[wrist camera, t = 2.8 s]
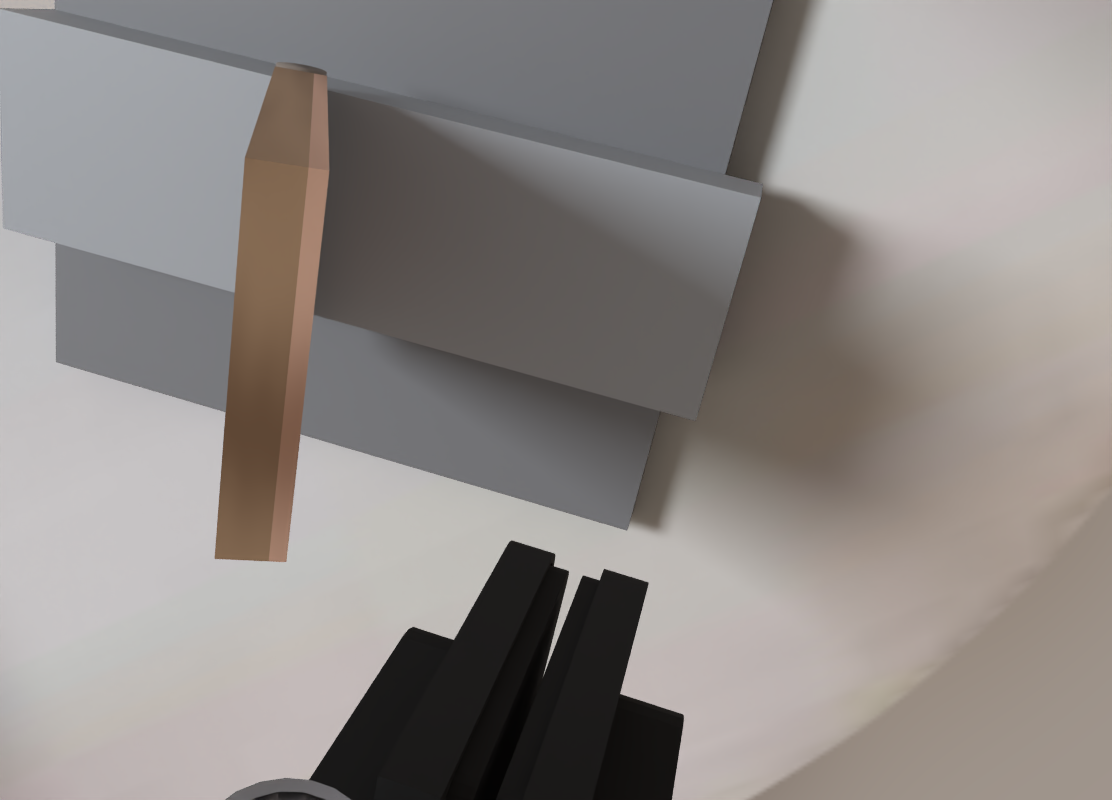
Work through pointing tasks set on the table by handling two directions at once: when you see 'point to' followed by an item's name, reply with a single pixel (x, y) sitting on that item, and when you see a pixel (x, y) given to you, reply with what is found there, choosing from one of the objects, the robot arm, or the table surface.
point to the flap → (273, 313)
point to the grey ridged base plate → (407, 214)
